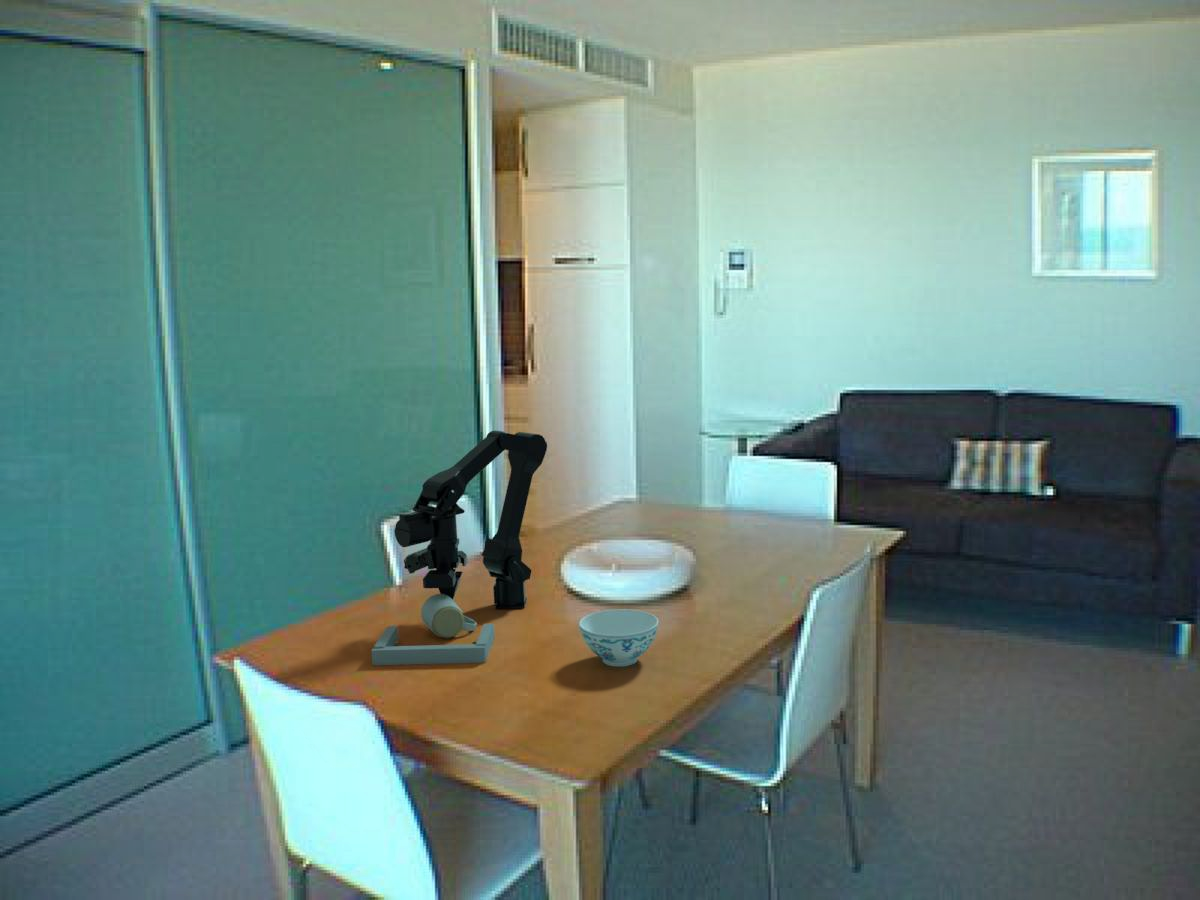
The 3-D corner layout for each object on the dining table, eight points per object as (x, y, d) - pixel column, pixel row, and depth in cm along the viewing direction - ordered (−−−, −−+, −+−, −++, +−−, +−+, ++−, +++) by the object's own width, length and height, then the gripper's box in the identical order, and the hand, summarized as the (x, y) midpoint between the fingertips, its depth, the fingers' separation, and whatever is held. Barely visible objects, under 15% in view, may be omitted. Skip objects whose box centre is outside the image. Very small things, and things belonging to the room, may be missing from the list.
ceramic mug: (433, 642, 221) (431, 606, 219) (421, 631, 228) (419, 596, 227) (482, 634, 225) (480, 598, 224) (469, 623, 232) (468, 588, 231)
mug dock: (494, 637, 223) (494, 623, 222) (485, 662, 209) (484, 647, 208) (388, 640, 223) (387, 626, 223) (372, 665, 210) (371, 650, 209)
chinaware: (567, 656, 210) (565, 618, 209) (633, 641, 217) (632, 604, 216) (605, 681, 197) (603, 640, 196) (674, 663, 204) (673, 624, 203)
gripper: (415, 527, 238) (419, 595, 241) (395, 550, 220) (401, 623, 223) (465, 525, 238) (469, 593, 241) (450, 548, 219) (454, 622, 222)
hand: (448, 607), depth 232 cm, fingers closed
